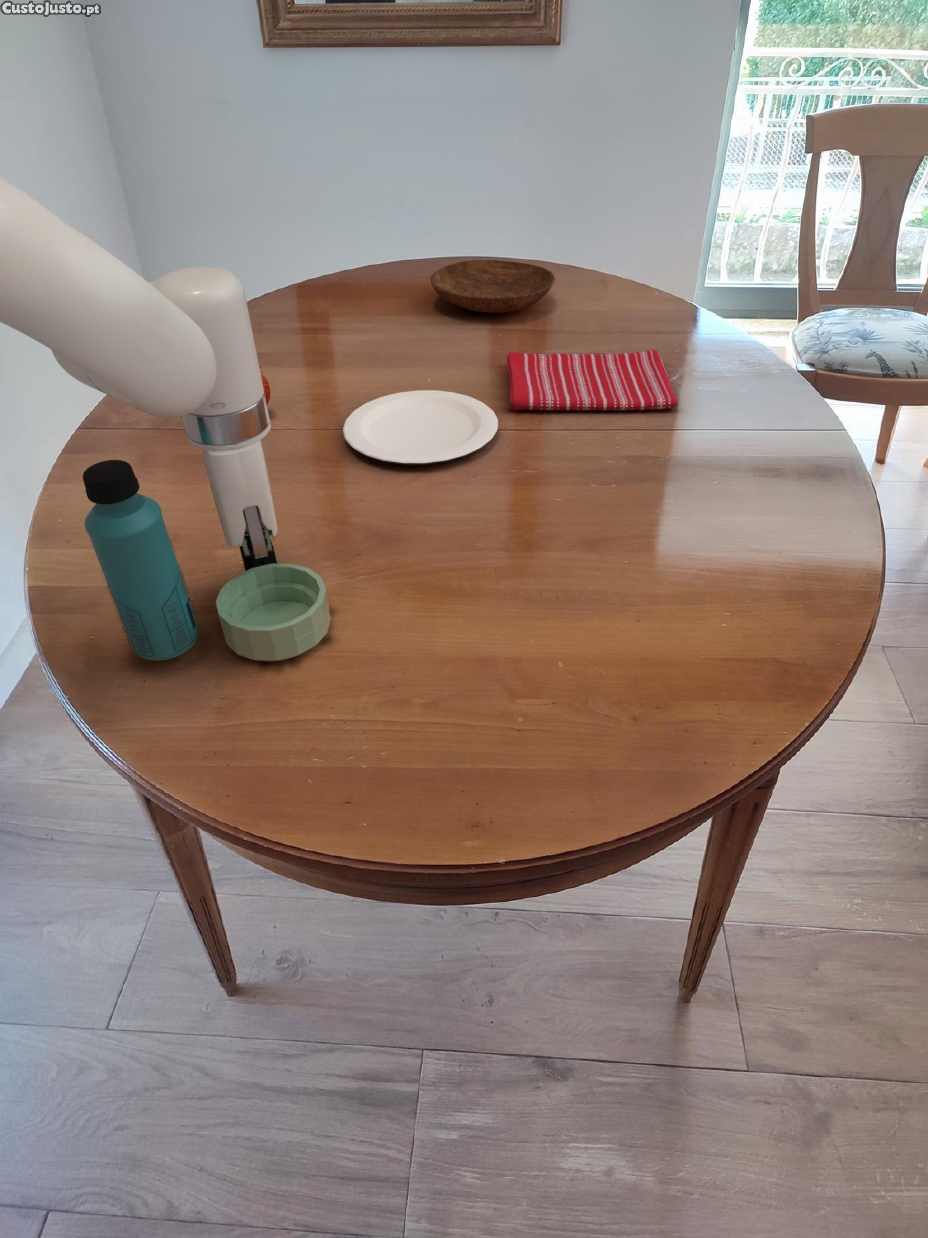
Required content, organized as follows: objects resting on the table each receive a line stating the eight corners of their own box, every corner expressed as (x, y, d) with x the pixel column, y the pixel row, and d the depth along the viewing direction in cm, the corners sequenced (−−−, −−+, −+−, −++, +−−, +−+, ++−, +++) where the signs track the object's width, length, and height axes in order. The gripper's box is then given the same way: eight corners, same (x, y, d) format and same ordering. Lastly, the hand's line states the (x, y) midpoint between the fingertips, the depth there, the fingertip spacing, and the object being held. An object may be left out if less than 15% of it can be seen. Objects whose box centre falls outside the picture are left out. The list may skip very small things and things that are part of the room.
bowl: (457, 281, 160) (457, 254, 157) (568, 294, 153) (569, 266, 150) (412, 317, 146) (410, 288, 143) (531, 333, 139) (532, 303, 136)
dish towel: (506, 364, 130) (506, 347, 128) (660, 363, 129) (662, 346, 127) (506, 414, 117) (506, 397, 115) (677, 413, 116) (680, 395, 114)
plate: (415, 387, 125) (415, 376, 123) (529, 426, 114) (529, 415, 113) (311, 441, 112) (309, 429, 111) (427, 490, 102) (427, 478, 101)
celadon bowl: (234, 677, 78) (224, 641, 75) (219, 612, 85) (210, 576, 82) (341, 650, 80) (335, 614, 77) (318, 589, 88) (312, 554, 85)
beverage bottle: (214, 656, 80) (160, 472, 67) (146, 684, 77) (76, 498, 64) (190, 620, 84) (135, 440, 71) (124, 646, 81) (55, 464, 69)
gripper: (174, 390, 80) (216, 548, 92) (194, 463, 69) (239, 631, 81) (252, 376, 82) (284, 532, 93) (284, 444, 71) (315, 611, 83)
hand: (263, 577), depth 87 cm, fingers closed
